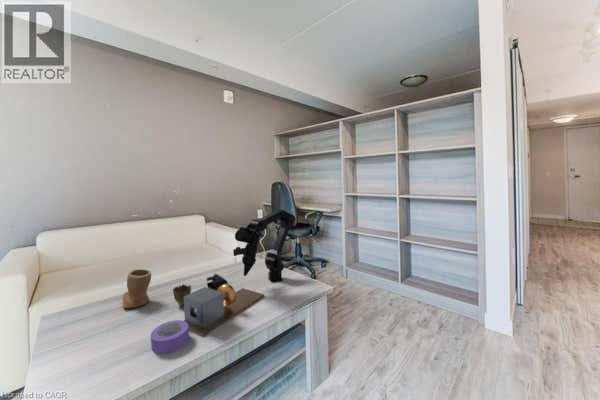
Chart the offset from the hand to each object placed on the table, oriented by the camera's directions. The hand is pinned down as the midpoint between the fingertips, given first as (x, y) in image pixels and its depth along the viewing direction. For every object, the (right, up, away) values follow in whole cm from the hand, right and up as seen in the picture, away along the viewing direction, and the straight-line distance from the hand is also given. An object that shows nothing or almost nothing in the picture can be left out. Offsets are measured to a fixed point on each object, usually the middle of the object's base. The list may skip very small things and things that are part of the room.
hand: (244, 275), depth 124 cm
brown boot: (-49, -11, -5) cm, 50 cm away
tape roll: (-18, -13, -35) cm, 42 cm away
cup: (-26, -11, -8) cm, 30 cm away
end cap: (-16, -9, +7) cm, 20 cm away
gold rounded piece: (-9, -9, -19) cm, 23 cm away
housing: (-5, -11, -13) cm, 18 cm away
